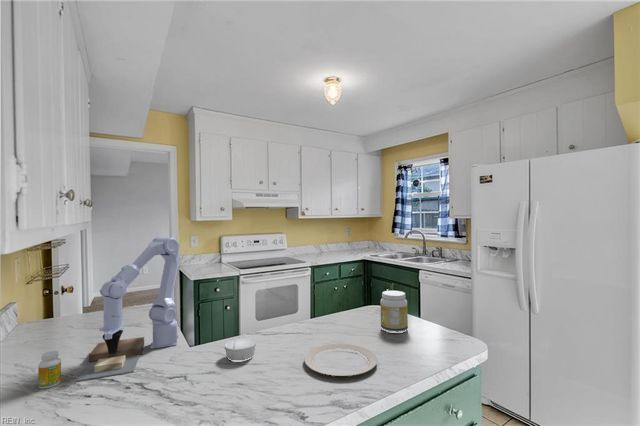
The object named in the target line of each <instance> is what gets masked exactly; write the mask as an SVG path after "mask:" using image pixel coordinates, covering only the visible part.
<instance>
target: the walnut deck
mask: <svg viewBox="0 0 640 426" xmlns="http://www.w3.org/2000/svg"><path fill="white" fill-rule="evenodd" d="M144 346H145V336H142V337H141V336H140V337H135V338H127V339H120V340H119V344H118V349H117V352H116V353H113V354H109V352H108V348H107V345H106V342H105V341H103V342H98V343H97V344H96V345H95V347H94V348H93V349H92V351H91V352H90V353H89V355H88V363H89V362H96V361H98V360H99V359H105V358H112V357H118V356H125V357H129V356H135V355H140V356H141V353H142V351H143V349H144Z"/></svg>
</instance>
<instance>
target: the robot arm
mask: <svg viewBox="0 0 640 426" xmlns="http://www.w3.org/2000/svg"><path fill="white" fill-rule="evenodd" d="M180 245H181V244H180V242H179V241H178V239H176V238H175V237H160V236H158V237H157V236H156V237H154V238H153V239H152V240H151V241H150V242H149V243H148V245H147V247H146V248H145V249H144V250H143V251H142V253H141V254H139V256H138V257H137V258H136V259H135V260H134V261H133V263H132V264H126V265H123V266H122V267H121V268H120V271H119V272H118V273H117V274H116V275H114V276H112V277H111V278H110V279H111V280H109V281H106V282H105V283H103V284H102V286H101V288H100V289H99V293H100V295H101V296H102V298H103V327H100V328H99V330H98V331H99V332H103V335H102V340H103V342H106V345H107V348H108V352H109V354H113V353H116V352H117V349H118V344H119V340H121V337H122V334H123V333H124V330H123V328H124V325H123V296H124V295H125V294H126V292H127V288H128V287H129V285H130V284H131V283H132V282H134V281H135V280H136V278H137V277H138V276H139V275H140V270H141V269H142V268H143V267H144V266H145V265H146V264H148V262H150V261H151V260H152V259H154V257H155V256H161V257H162V258H163V259H164V265H163V268H162V269H163V270H162V274H161V275H162V276H161V281H160V286H159V291H158V296H157V298H156V299H155V300H154V301H153V303H152V305H151V307H150V309H149V311H148V318H149V319H150V320H151V323H152V341H151V345H150V349H158V348H159V349H160V348H165V347H172V346H173V347H174V346H176V345H177V344H178V339H179V334H178V321H177V320H175V318H176V316H177V311H176V305H177V304H176V303H175V301H174V300H173V296H174V293H175V292H174V291H175V285H176V279H177V275H178V270H179V265H180V258H181V256H180Z"/></svg>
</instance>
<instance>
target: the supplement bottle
mask: <svg viewBox="0 0 640 426" xmlns="http://www.w3.org/2000/svg"><path fill="white" fill-rule="evenodd" d="M37 368H38V373H37V376H38V379H37V381H38V382H37V383H38V384H37V387H38V389H48V388H49V389H51V388H53V387H56V386H57V385H60V383H61V381H62V380H61V379H62V358H60V357H59V351H58V350H50V351H47V352H44V353H42V354H41V361H40V362H39V363H38V367H37Z"/></svg>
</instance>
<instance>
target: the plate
mask: <svg viewBox="0 0 640 426" xmlns="http://www.w3.org/2000/svg"><path fill="white" fill-rule="evenodd" d="M335 348H342V349H351V350H354V351H358V352H360V353H362V354H363V355H365V356H366V357H367V359H368V361H369V365H368V364H367V367H366V368H365V369H364V370H361V371H357V372H356V373H352V374H351V373H350V374H333V373H329V372H325V371H322V370H319V369H318V368H316V367H315V365H314V363H313V364H312V360H313V358H314V356H315V355H316V354H317V353H319V352H321V351H324V350H328V349H335ZM304 363H305V365H306V367H308V368H309V369H311V370H312V371H315V372H317V373H319V374H322V375H325V374H326V376H329V375H331V376H330V377H335V376H348V377H353V375H354V376H357V375H362V374H365V373H368V372H370V371H371V370H372V369H373V368H375V367H376V365H377V364H378V358H377V356H376V355H375V354H374V353H373V351H371V350H369V349H367V348H365V347H362V346H361V345H360V346H359V345H356V344H350V343H349V344H347V343H331V344H324V345H321V346H316V347H314V348H312V349H310V350H309V351H308V352H307V353H306V354H305V356H304ZM313 365H314V366H313Z"/></svg>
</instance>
